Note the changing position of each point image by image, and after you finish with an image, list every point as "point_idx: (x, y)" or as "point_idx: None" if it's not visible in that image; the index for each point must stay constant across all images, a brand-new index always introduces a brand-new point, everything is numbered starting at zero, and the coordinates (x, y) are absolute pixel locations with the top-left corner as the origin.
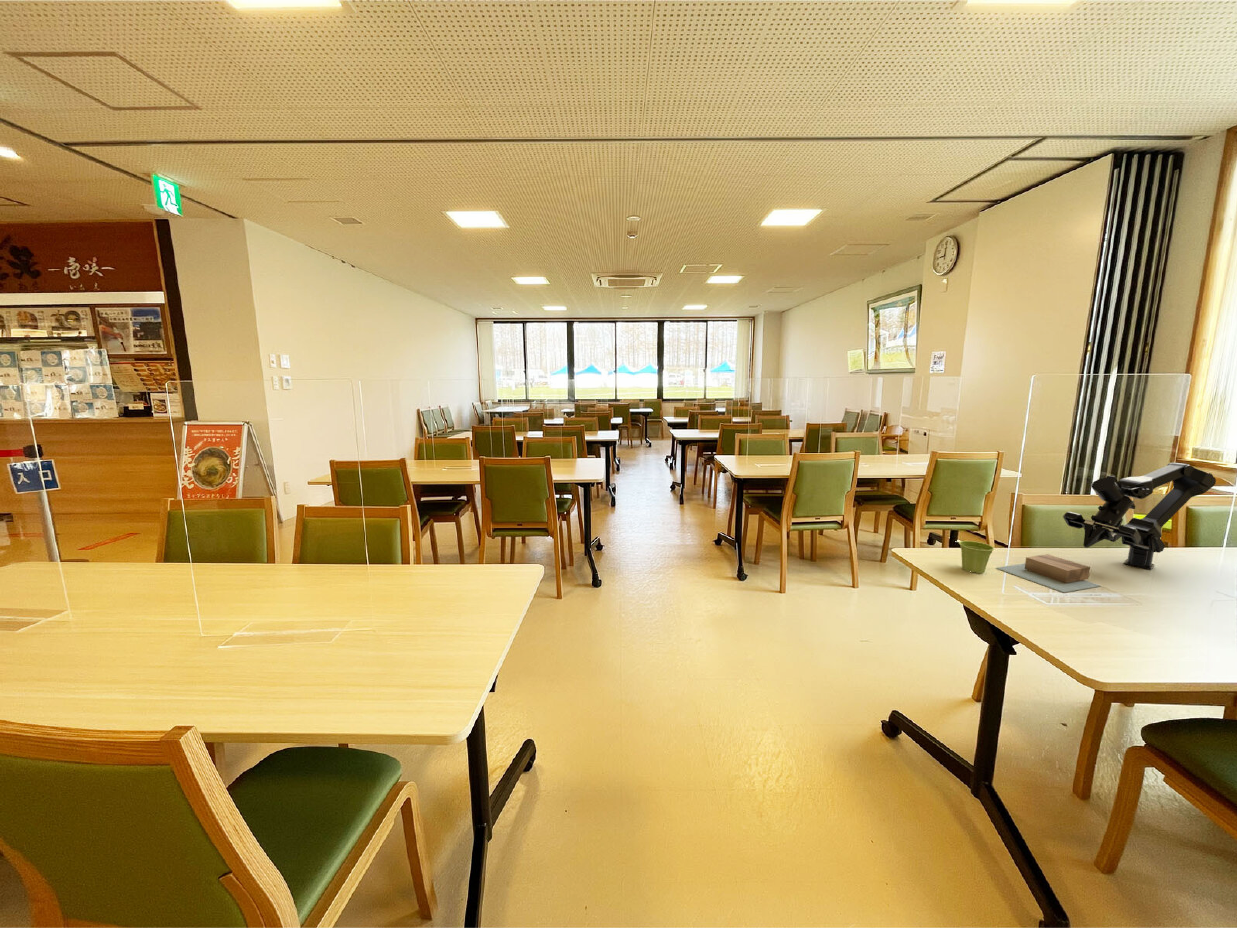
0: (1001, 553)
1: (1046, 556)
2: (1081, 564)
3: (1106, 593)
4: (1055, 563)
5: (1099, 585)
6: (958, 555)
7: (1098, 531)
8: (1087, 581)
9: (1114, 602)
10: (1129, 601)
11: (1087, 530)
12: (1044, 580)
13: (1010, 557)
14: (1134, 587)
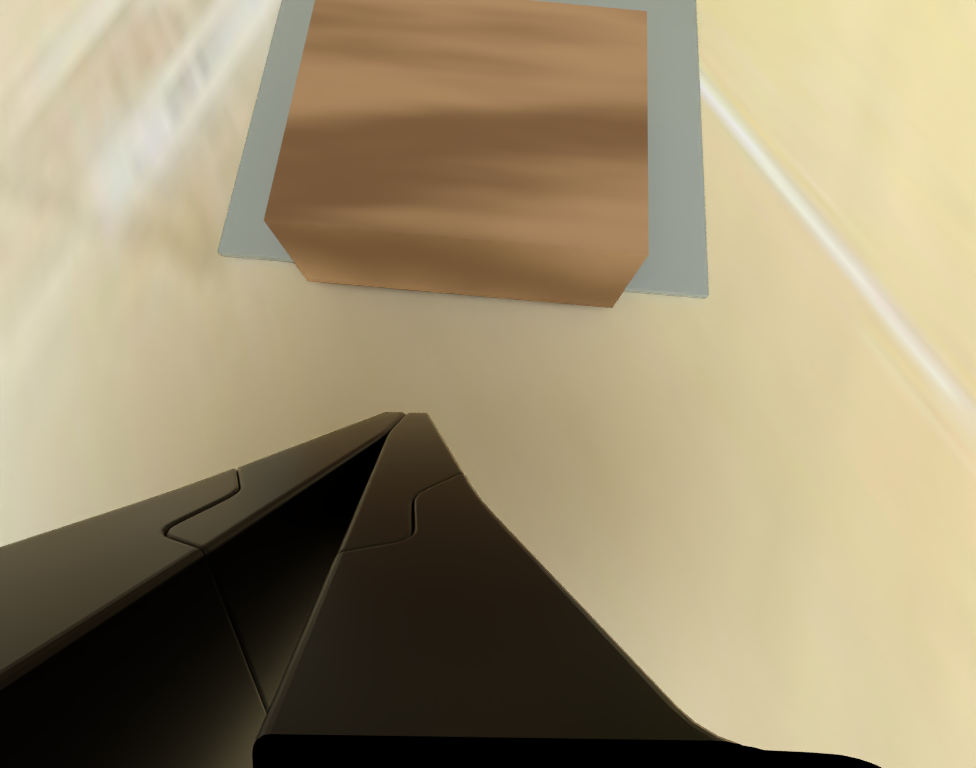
0: (947, 328)
1: (604, 174)
2: (338, 223)
3: (156, 161)
4: (455, 57)
5: (224, 246)
6: (948, 23)
7: (16, 572)
8: None
9: (82, 60)
10: (30, 147)
11: (424, 536)
12: None
13: (850, 296)
14: (71, 472)
